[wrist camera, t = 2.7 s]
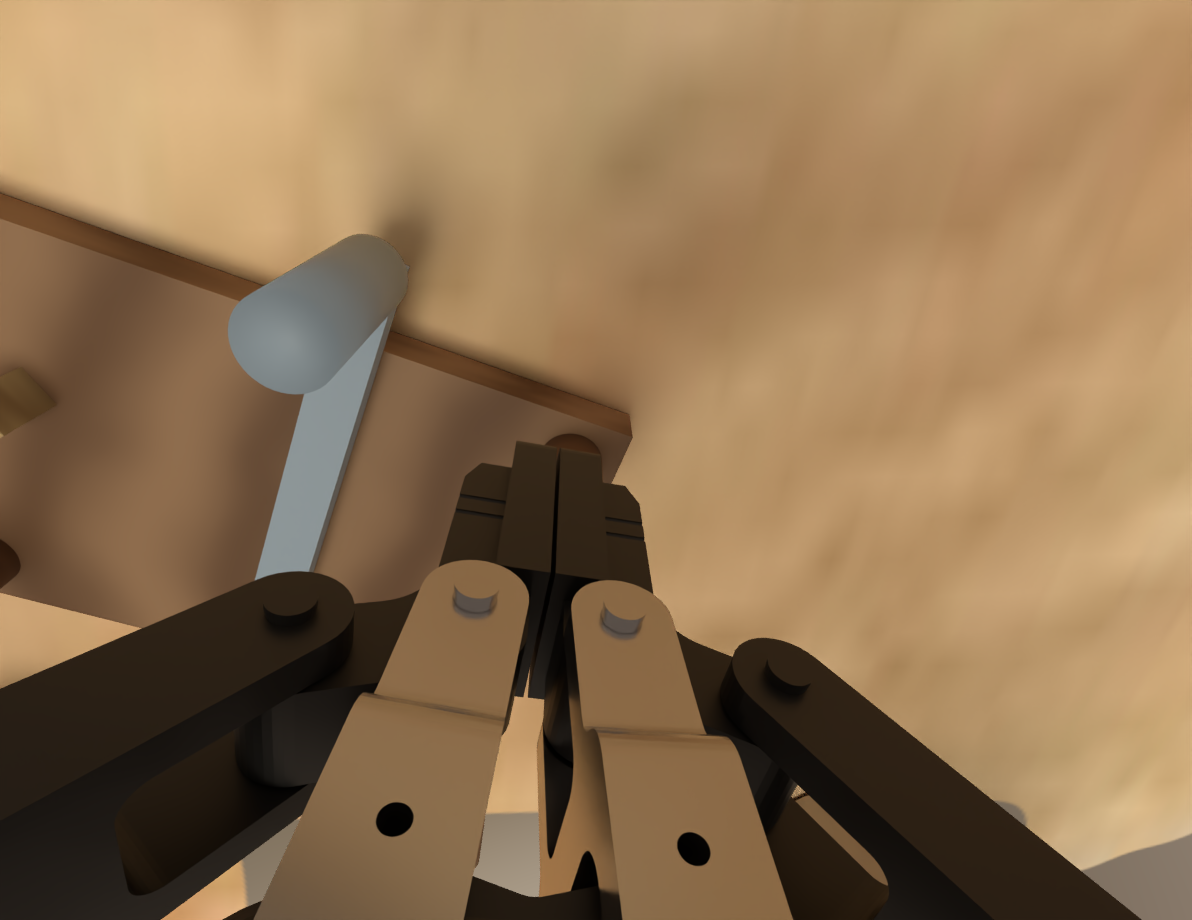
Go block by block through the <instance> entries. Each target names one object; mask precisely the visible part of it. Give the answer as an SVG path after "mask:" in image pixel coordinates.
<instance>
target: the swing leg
mask: <svg viewBox="0 0 1192 920" xmlns="http://www.w3.org/2000/svg"><path fill="white" fill-rule="evenodd" d="M409 267H410V266H407V265H405V263H404V261H403V259H402V257H401V256H400V254H399V253H398V252H397V251H396V250H395V249H394V247H392V246H391V245H390V244H389V243H387V242H386V241H384V240H382V239H380V238H378V237H375V236H372V235H366V234H357V235H352V236H349V237H347V238H345V239H343V240H341V241H340V242H338V243H336V244H334V245H333V246H331V247H329V248H328V249H326V250H324V251H323V252H321V253H319V254H317V255H316V256H314V257H312V258H311V259H309V260H307V261H306V262H304V263H302V264H300V265H299V266H297V267H295V268H294V269H292V270H290V271H288V272H287V273H285V274H283V275H282V276H280V277H278V278H277V279H275V280H273V281H271V282H270V283H268V284H266V285H265V286H263V287H261V288H259V289H258V290H256V291H254V292H253V293H251V294H249V295H248V296H246V297H245V298H243V299H242V300H241V301H240V302H239V303H238V304H237V305H236V307H235V308H234V309H233V311H232V313H231V316H230V319H229V323H228V338H229V343H230V347H231V350H232V352H233V354H234V356H235V358H236V360H237V361H238V363H239V364H240V366H241V367H242V368H243V369H244V370H245V372H246V373H247V374H248V375H249V376H251V377H252V378H253V379H254V380H256V381H257V382H258V383H260V384H262V385H263V386H265V387H267V388H269V389H272V390H274V391H277V392H281V393H286V394H304V397H303V401H302V404H301V408H300V412H299V416H298V419H297V423H296V427H295V431H294V434H293V438H292V442H291V446H290V450H289V453H288V457H287V461H286V465H285V468H284V472H283V476H282V480H281V483H280V487H279V491H278V495H277V498H276V502H275V506H274V510H273V513H272V517H271V521H270V525H269V529H268V532H267V536H266V540H265V544H264V547H263V551H262V555H261V559H260V562H259V566H258V570H257V574H256V577H255V580H257V579H260V578H262V577H265V576H268V575H272V574H276V573H282V572H291V571H305V572H314V569H315V566H316V563H317V559H318V556H319V553H320V550H321V547H322V544H323V540H324V537H325V534H326V531H327V528H328V525H329V521H330V518H331V515H332V512H333V509H334V505H335V502H336V499H337V496H338V493H339V490H340V486H341V483H342V480H343V477H344V474H345V471H346V467H347V464H348V461H349V458H350V455H351V452H352V448H353V445H354V442H355V439H356V436H357V432H358V429H359V426H360V423H361V420H362V417H363V413H364V410H365V407H366V404H367V401H368V398H369V394H370V391H371V388H372V385H373V382H374V379H375V375H376V372H377V369H378V366H379V363H380V359H381V356H382V353H383V350H384V347H385V344H386V340H387V337H388V334H389V331H390V328H391V325H392V321H393V318H394V315H395V312H396V309H397V306H398V304H399V303H400V302H401V301H402V299H403V298H404V296H405V294H406V291H407V287H408V271H409Z"/></svg>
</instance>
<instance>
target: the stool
mask: <svg viewBox="0 0 1192 920" xmlns="http://www.w3.org/2000/svg"><path fill="white" fill-rule="evenodd" d="M261 287H263V286H262V285H259V284H256V283H253V282H251V281H248V280H245V279H242V278H239V277H236V276H233V275H231V274H228V273H225V272H222V271H219V270H216V269H214V268H211V267H208V266H205V265H202V264H199V263H197V262H194V261H191V260H188V259H185V258H182V257H180V256H177V255H174V254H171V253H168V252H165V251H163V250H160V249H157V248H154V247H151V246H148V245H145V244H143V243H140V242H137V241H134V240H131V239H128V238H126V237H123V236H120V235H117V234H114V233H111V232H109V231H106V230H103V229H100V228H97V227H94V226H92V225H89V224H86V223H83V222H80V221H77V220H74V219H72V218H69V217H66V216H63V215H60V214H57V213H55V212H52V211H49V210H46V209H43V208H40V207H38V206H35V205H32V204H29V203H26V202H23V201H21V200H18V199H15V198H12V197H9V196H6V195H4V194H1V193H0V593H4V594H8V595H12V596H16V597H20V598H24V599H28V600H32V601H36V602H40V603H44V604H48V605H52V606H56V607H59V608H63V609H67V610H71V611H75V612H79V613H83V614H87V615H91V616H95V617H99V618H103V619H107V620H111V621H115V622H119V623H123V624H127V625H131V626H135V627H139V628H144V627H147V626H149V625H151V624H154V623H156V622H158V621H161V620H163V619H165V618H168V617H170V616H173V615H175V614H177V613H180V612H182V611H184V610H187V609H189V608H191V607H194V606H196V605H198V604H201V603H203V602H205V601H208V600H210V599H212V598H215V597H217V596H219V595H222V594H224V593H227V592H229V591H231V590H234V589H236V588H238V587H241V586H243V585H245V584H248V583H250V582H252V581H255V577H256V574H257V570H258V566H259V562H260V559H261V555H262V551H263V547H264V544H265V540H266V536H267V532H268V529H269V525H270V521H271V517H272V513H273V510H274V506H275V502H276V498H277V495H278V491H279V487H280V483H281V480H282V476H283V472H284V468H285V465H286V461H287V457H288V453H289V450H290V446H291V442H292V438H293V434H294V431H295V427H296V423H297V419H298V416H299V412H300V408H301V404H302V401H303V397H304V394H286V393H281V392H277V391H274V390H272V389H269V388H267V387H265V386H263V385H262V384H260V383H258V382H257V381H256V380H254V379H253V378H252V377H251V376H249V375H248V374H247V373H246V372H245V370H244V369H243V368H242V367H241V366H240V364H239V363H238V361H237V360H236V358H235V356H234V354H233V352H232V350H231V347H230V343H229V338H228V323H229V319H230V316H231V313H232V311H233V309H234V308H235V307H236V305H237V304H238V303H239V302H240V301H241V300H242V299H243V298H245V297H246V296H248V295H249V294H251V293H253V292H254V291H256V290H258V289H259V288H261ZM632 438H633V436H632V430H631V423H630V416H629V415H628V414H625V413H622V412H620V411H617V410H614V409H611V408H608V407H605V406H603V405H600V404H597V403H594V402H591V401H588V400H586V399H583V398H580V397H577V396H574V395H571V394H569V393H566V392H563V391H560V390H557V389H554V388H551V387H549V386H546V385H543V384H540V383H537V382H534V381H532V380H529V379H526V378H523V377H520V376H517V375H515V374H512V373H509V372H506V371H503V370H500V369H498V368H495V367H492V366H489V365H486V364H483V363H481V362H478V361H475V360H472V359H469V358H466V357H463V356H461V355H458V354H455V353H452V352H449V351H446V350H444V349H441V348H438V347H435V346H432V345H429V344H427V343H424V342H421V341H418V340H415V339H412V338H410V337H407V336H404V335H401V334H398V333H395V332H392V331H389V334H388V337H387V340H386V344H385V347H384V350H383V353H382V356H381V359H380V363H379V366H378V369H377V372H376V375H375V379H374V382H373V385H372V388H371V391H370V394H369V398H368V401H367V404H366V407H365V410H364V413H363V417H362V420H361V423H360V426H359V429H358V432H357V436H356V439H355V442H354V445H353V448H352V452H351V455H350V458H349V461H348V464H347V467H346V471H345V474H344V477H343V480H342V483H341V486H340V490H339V493H338V496H337V499H336V502H335V505H334V509H333V512H332V515H331V518H330V521H329V525H328V528H327V531H326V534H325V537H324V540H323V544H322V547H321V550H320V553H319V556H318V559H317V563H316V566H315V569H314V573H319V574H323V575H326V576H329V577H331V578H333V579H335V580H337V581H339V582H340V583H342V584H343V585H344V586H345V587H346V588H347V589H348V590H349V591H350V593H351V595H352V597H353V600H354V604H356V603H366V602H377V601H386V600H392V599H396V598H400V597H404V596H406V595H409V594H412V593H414V592H416V591H418V590H419V589H420V588H421V586H422V583H423V582H424V580H425V578H426V577H427V576H428V575H429V574H430V573H431V572H432V571H434V570H435V569H436V568H438V567H439V564H440V561H441V557H442V554H443V550H444V547H445V543H446V540H447V536H448V533H449V530H450V526H451V523H452V519H453V516H454V512H455V509H456V505H457V502H458V498H459V496H460V491H461V488H462V484H463V481H464V478H465V475H467V474H468V473H469V472H470V471H472V470H473V469H474V468H475V467H477V466H478V465H479V464H480V463H487V464H493V465H499V466H505V467H511V468H512V464H513V458H514V452H515V446H516V440H518V441H523V442H529V443H535V444H541V445H547V446H553V447H557V456H558V452H559V449H560V448H565V449H571V450H577V451H583V452H589V453H595V454H600V455H601V466H602V480H603V483H609V484H611V483H612V481H613V479H614V477H615V474H616V472H617V470H618V468H619V466H620V464H621V461H622V459H623V457H624V455H625V453H626V451H627V448H628V446H629V444H630V442H631V440H632ZM556 461H557V458H556ZM484 821H485V819H484ZM483 828H484V823H483ZM483 828H482V833H481V838H480V843H479V848H478V853H477V857H476V862H475V867H474V869H475V868H476V866H477V865H478V862H479V857H480V850H481V843H482V835H483Z"/></svg>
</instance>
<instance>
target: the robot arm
mask: <svg viewBox="0 0 1192 920" xmlns="http://www.w3.org/2000/svg"><path fill="white" fill-rule="evenodd" d="M556 458H557V461H556ZM529 669H530V676H529V688H528V698H537V699H544V718H543V722H542V726H541V730H540V735H539V739H538V743H537V772H538V808H539V842H540V843H539V845H540V890H539V897H528V896H525V895H521V894H519V893H516V892H513V891H511V890H508V889H505V888H502V887H500V886H497V885H495V884H492V883H489V882H487V881H484V880H482V879H479V878H476V877H474V876H473V872H474V867H475V862H476V857H477V853H478V848H479V843H480V838H481V833H482V828H483V823H484V819H485V814H486V809H487V804H488V799H489V794H490V789H491V785H492V780H493V775H494V770H495V765H496V760H497V755H498V751H499V746H500V741H501V736H502V735H503V734H504V732H505V731H506V729H507V727H508V724H509V720H510V715H511V711H512V706H513V701H514V696H518V697H523V696H524V691H525V687H526V682H527V678H528V673H529ZM797 785H799V786H800V787H801V788H802V789H803V790H804V791H805V792H806V793H807V794H808V796H805V797H802V798H800V799H798V800H796V801H795V800H794V799H793V798H792V797H791V796H792V794H793V792H794V790H795V788H796V786H797ZM301 815H302V816H301ZM300 816H301V818H300V821H299V823H298V825H297V827H296V829H295V831H294V834H293V836H292V838H291V840H290V842H289V844H288V846H287V849H286V851H285V853H284V855H283V857H282V859H281V862H280V864H279V866H278V868H277V870H276V872H275V874H274V877H273V879H272V881H271V883H270V885H269V887H268V890H267V892H266V894H265V896H264V898H263V900H262V901H260V902H258V903H255V904H253V905H251V906H248V907H246V908H243V909H241V910H239V911H237V912H236V913H234V914H232V915H230V916H228V917H226V918H225V919H223V920H1141V919H1140V918H1139V917H1138V916H1136V915H1135V914H1134V913H1133V912H1131V911H1130V910H1129V909H1128V908H1126V907H1125V906H1124V905H1123V904H1121V903H1120V902H1119V901H1118V900H1116V899H1115V898H1114V897H1112V896H1111V895H1110V894H1109V893H1108V892H1106V891H1105V890H1104V889H1103V888H1101V887H1100V886H1099V885H1098V884H1096V883H1095V882H1094V881H1093V880H1091V879H1090V878H1089V877H1088V876H1086V875H1085V874H1084V873H1083V872H1081V871H1080V870H1079V869H1078V868H1076V867H1075V866H1074V865H1073V864H1071V863H1070V862H1069V861H1068V860H1066V859H1065V858H1064V857H1063V856H1062V855H1060V854H1059V853H1058V852H1057V851H1055V850H1054V849H1053V848H1052V847H1050V846H1049V845H1048V844H1047V843H1045V842H1044V841H1043V840H1042V839H1040V838H1039V837H1038V836H1037V835H1035V834H1034V833H1033V832H1032V831H1030V830H1029V829H1028V828H1027V827H1025V826H1024V825H1023V824H1022V823H1020V822H1019V821H1018V820H1017V819H1015V818H1014V817H1013V816H1012V815H1010V814H1009V813H1008V812H1006V811H1005V810H1004V809H1003V808H1002V807H1000V806H999V805H998V804H997V803H995V802H994V801H993V800H992V799H990V798H989V797H988V796H987V795H985V794H984V793H983V792H982V791H980V790H979V789H978V788H977V787H975V786H974V785H973V784H972V783H971V782H969V781H968V780H967V779H966V778H964V777H963V776H962V775H961V774H959V773H958V772H957V771H956V770H954V769H953V768H952V767H951V766H949V765H948V764H947V763H946V762H944V761H943V760H942V759H941V758H939V757H938V756H937V755H936V754H934V753H933V752H932V751H931V750H929V749H928V748H927V747H926V746H924V745H923V744H922V743H921V742H919V741H918V740H917V739H916V738H914V737H913V736H912V735H911V734H909V733H908V732H907V731H906V730H904V729H903V728H902V727H901V726H899V725H898V724H897V723H896V722H894V721H893V720H892V719H891V718H889V717H888V716H887V715H886V714H884V713H883V712H882V711H881V710H880V709H878V708H877V707H876V706H875V705H873V704H872V703H871V702H870V701H868V700H867V699H866V698H865V697H863V696H862V695H861V694H860V693H858V692H857V691H856V690H855V689H853V688H852V687H851V686H850V685H848V684H847V683H846V682H845V681H843V680H842V679H841V678H840V677H838V676H837V675H836V674H835V673H833V672H832V671H831V670H830V669H828V668H827V667H826V666H825V665H823V664H822V663H821V662H820V661H818V660H817V659H816V658H815V657H813V656H812V655H810V654H809V653H808V652H806V651H804V650H802V649H801V648H799V647H797V646H795V645H792V644H790V643H787V642H784V641H781V640H776V639H770V638H756V639H751V640H748V641H746V642H744V643H742V644H741V645H739V646H738V648H737V649H736V650H735V652H734V655H733V657H731V656H729V655H726V654H723V653H721V652H718V651H716V650H713V649H711V648H708V647H705V646H703V645H700V644H698V643H696V642H694V641H692V640H690V639H688V638H686V637H685V636H683V635H682V634H680V633H679V632H677V631H676V629H675V626H674V622H673V619H672V616H671V614H670V612H669V610H668V609H667V607H666V606H665V605H664V604H663V602H662V601H661V600H659V599H658V598H657V597H656V596H655V595H653V589H652V583H651V577H650V570H649V564H648V557H647V551H646V544H645V542H644V531H643V526H642V519H641V512H640V506H639V503H638V502H637V501H636V499H635V498H634V497H633V495H632V494H631V493H630V492H629V490H628V489H627V488H626V487H625V486H621V485H615V484H609V483H603V480H602V466H601V455H600V454H595V453H589V452H583V451H577V450H571V449H565V448H560V449H559V452H558V456H557V447H553V446H547V445H541V444H535V443H529V442H523V441H518V440H516V446H515V452H514V458H513V464H512V468H511V467H505V466H499V465H493V464H487V463H480V464H479V465H478V466H477V467H475V468H474V469H473V470H472V471H470V472H469V473H468V474H467V475H465V478H464V481H463V484H462V488H461V491H460V496H459V498H458V502H457V505H456V509H455V512H454V516H453V519H452V523H451V526H450V530H449V533H448V536H447V540H446V543H445V547H444V550H443V554H442V557H441V561H440V564H439V567H438V568H436V569H435V570H434V571H432V572H431V573H430V574H429V575H428V576H427V577H426V578H425V580H424V582H423V583H422V586H421V588H420V589H419V590H418V591H416V592H414V593H412V594H409V595H406V596H404V597H400V598H396V599H392V600H386V601H377V602H366V603H356V604H354V600H353V597H352V595H351V593H350V591H349V590H348V589H347V588H346V587H345V586H344V585H343V584H342V583H340V582H339V581H337V580H335V579H333V578H331V577H329V576H326V575H323V574H319V573H314V572H305V571H291V572H282V573H276V574H272V575H268V576H265V577H262V578H260V579H257V580H255V581H252V582H250V583H248V584H245V585H243V586H241V587H238V588H236V589H234V590H231V591H229V592H227V593H224V594H222V595H219V596H217V597H215V598H212V599H210V600H208V601H205V602H203V603H201V604H198V605H196V606H194V607H191V608H189V609H187V610H184V611H182V612H180V613H177V614H175V615H173V616H170V617H168V618H165V619H163V620H161V621H158V622H156V623H154V624H151V625H149V626H147V627H144V628H142V629H140V630H137V631H135V632H133V633H130V634H128V635H126V636H123V637H121V638H119V639H116V640H114V641H111V642H109V643H107V644H104V645H102V646H100V647H97V648H95V649H93V650H90V651H88V652H86V653H83V654H81V655H79V656H76V657H74V658H72V659H69V660H67V661H65V662H62V663H60V664H57V665H55V666H53V667H50V668H48V669H46V670H43V671H41V672H39V673H36V674H34V675H32V676H29V677H27V678H25V679H22V680H20V681H18V682H15V683H13V684H11V685H8V686H6V687H3V688H1V689H0V920H161V919H162V918H164V917H165V916H166V915H168V914H169V913H170V912H172V911H173V910H174V909H176V908H177V907H178V906H180V905H181V904H183V903H184V902H185V901H187V900H188V899H189V898H191V897H192V896H193V895H195V894H196V893H197V892H199V891H200V890H201V889H203V888H204V887H205V886H207V885H208V884H209V883H211V882H212V881H213V880H215V879H216V878H218V877H219V876H220V875H222V874H223V873H224V872H226V871H227V870H228V869H230V868H231V867H232V866H234V865H235V864H236V863H238V862H239V861H240V860H242V859H243V858H244V857H246V856H247V855H248V854H250V853H251V852H252V851H254V850H255V849H256V848H258V847H259V846H261V845H262V844H263V843H265V842H266V841H267V840H269V839H270V838H271V837H272V836H274V835H275V834H276V833H278V832H279V831H281V830H282V829H284V828H285V827H286V826H288V825H289V824H290V823H292V822H293V821H294V820H296V819H297V818H298V817H300Z"/></svg>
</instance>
